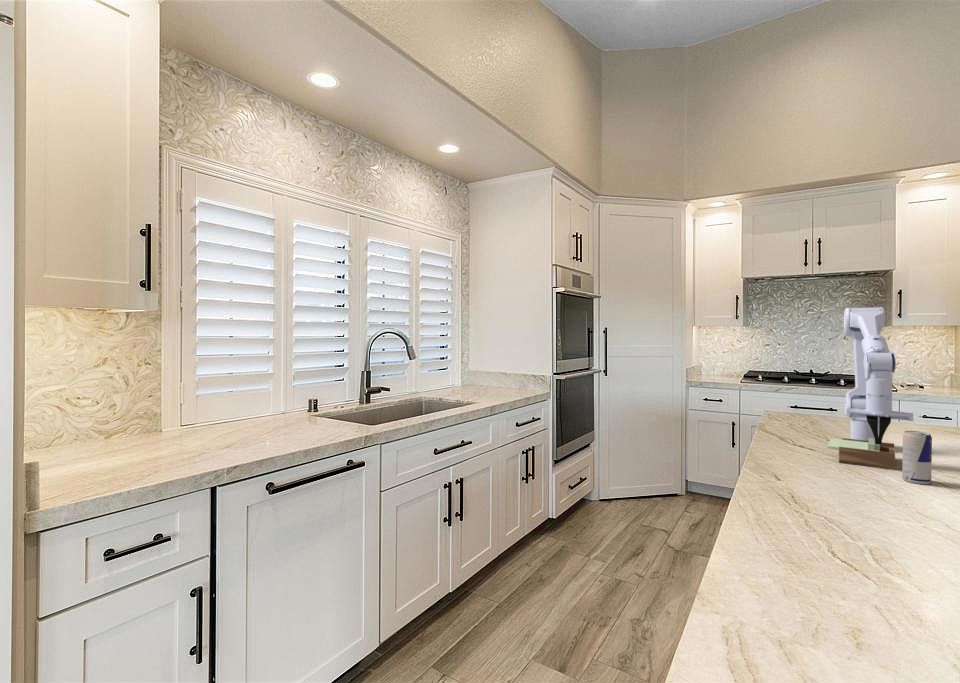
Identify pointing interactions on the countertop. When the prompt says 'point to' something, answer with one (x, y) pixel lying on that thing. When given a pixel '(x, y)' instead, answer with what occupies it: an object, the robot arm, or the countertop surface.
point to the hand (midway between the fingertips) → (878, 443)
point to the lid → (853, 444)
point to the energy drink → (917, 457)
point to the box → (869, 456)
